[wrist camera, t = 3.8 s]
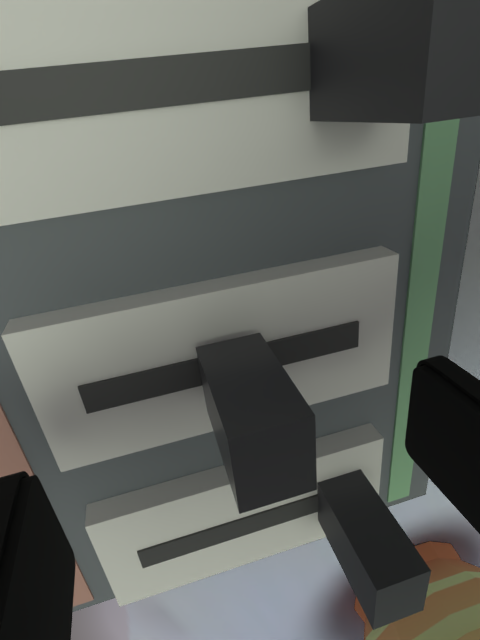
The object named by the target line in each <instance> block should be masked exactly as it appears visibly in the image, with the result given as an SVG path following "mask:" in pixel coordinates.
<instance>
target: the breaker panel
mask: <svg viewBox="0 0 480 640" xmlns="http://www.w3.org/2000/svg"><path fill="white" fill-rule="evenodd" d="M479 163H480V0H0V477H3V476H7V475H11V474H14V473H18V472H21V471H25V472H27V473H28V475H29V476H33V475H37V476H38V478H39V480H40V482H41V484H42V486H43V488H44V490H45V492H46V495H47V497H48V499H49V501H50V503H51V505H52V507H53V509H54V511H55V514H56V516H57V518H58V520H59V522H60V524H61V526H62V528H63V530H64V533H65V535H66V537H67V539H68V541H69V543H70V545H71V547H72V550H73V552H74V556H75V582H74V596H73V611H72V612H74V611H77V610H80V609H83V608H86V607H89V606H92V605H95V604H98V603H101V602H104V601H107V600H110V599H113V598H116V599H117V602H118V604H119V606H124V605H127V604H130V603H133V602H136V601H138V600H141V599H144V598H147V597H150V596H153V595H156V594H159V593H162V592H165V591H168V590H171V589H174V588H177V587H180V586H183V585H186V584H189V583H192V582H195V581H198V580H201V579H204V578H207V577H210V576H212V575H215V574H218V573H221V572H224V571H227V570H230V569H233V568H236V567H239V566H242V565H245V564H248V563H251V562H254V561H257V560H260V559H263V558H266V557H269V556H272V555H275V554H278V553H281V552H283V551H286V550H289V549H292V548H295V547H298V546H301V545H304V544H307V543H310V542H313V541H316V540H319V539H322V538H325V537H327V539H328V541H329V543H330V545H331V547H332V549H333V551H334V553H335V555H336V557H337V559H338V561H339V563H340V565H341V567H342V569H343V571H344V573H345V575H346V577H347V579H348V581H349V583H350V585H351V587H352V589H353V591H354V593H355V595H356V597H357V599H358V601H359V603H360V605H361V607H362V609H363V611H364V613H365V615H366V617H367V619H368V621H369V623H370V625H371V627H372V629H373V630H375V629H377V628H380V627H382V626H385V625H387V624H390V623H393V622H395V621H398V620H400V619H403V618H405V617H408V616H410V615H413V614H415V613H418V612H420V611H423V610H424V605H425V600H426V595H427V590H428V585H429V580H430V575H431V570H430V568H429V567H428V565H427V564H426V562H425V561H424V560H423V558H422V557H421V555H420V554H419V552H418V551H417V549H416V548H415V547H414V545H413V544H412V542H411V541H410V539H409V538H408V537H407V535H406V534H405V532H404V531H403V529H402V528H401V526H400V525H399V524H398V522H397V521H396V519H395V518H394V516H393V515H392V514H391V512H390V511H389V509H388V508H387V507H389V506H392V505H395V504H398V503H401V502H404V501H407V500H410V499H413V498H416V497H419V496H422V495H425V494H426V488H427V482H428V476H427V475H426V474H425V473H424V472H423V471H422V470H421V468H420V467H419V466H418V465H417V464H416V463H415V462H414V461H413V460H412V459H411V457H410V456H409V455H408V453H407V451H406V448H405V437H406V428H407V419H408V410H409V401H410V392H411V383H412V374H413V370H414V368H416V367H417V364H418V362H419V361H421V360H424V359H428V358H431V357H435V356H438V355H442V356H445V357H447V358H448V353H449V347H450V341H451V335H452V329H453V323H454V316H455V310H456V304H457V298H458V292H459V286H460V280H461V273H462V267H463V261H464V255H465V249H466V243H467V237H468V230H469V224H470V218H471V212H472V206H473V200H474V194H475V187H476V181H477V175H478V169H479ZM255 333H261V335H262V336H263V338H264V339H265V341H266V342H267V344H268V345H269V347H270V348H271V350H272V351H273V353H274V354H275V356H276V357H277V359H278V360H279V362H280V363H281V365H282V366H283V368H284V369H285V371H286V372H287V374H288V375H289V377H290V378H291V380H292V381H293V383H294V384H295V386H296V387H297V389H298V390H299V392H300V393H301V395H302V396H303V398H304V399H305V401H306V402H307V404H308V405H309V407H310V408H311V410H312V411H313V413H314V414H315V422H316V471H317V490H315V491H312V492H308V493H305V494H302V495H299V496H296V497H292V498H289V499H286V500H283V501H280V502H276V503H273V504H270V505H267V506H264V507H261V508H257V509H254V510H251V511H248V512H245V513H241V514H239V511H238V508H237V505H236V502H235V498H234V495H233V492H232V489H231V486H230V482H229V479H228V476H227V473H226V470H225V466H224V463H223V460H222V457H221V454H220V450H219V447H218V444H217V441H216V437H215V434H214V431H213V428H212V425H211V421H210V418H209V415H208V412H207V407H206V402H205V396H204V391H203V385H202V380H201V374H200V369H199V363H198V358H197V352H196V347H198V346H203V345H207V344H212V343H216V342H220V341H225V340H229V339H233V338H238V337H242V336H247V335H251V334H255Z"/></svg>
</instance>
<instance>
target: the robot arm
mask: <svg viewBox="0 0 480 640" xmlns="http://www.w3.org/2000/svg"><path fill="white" fill-rule="evenodd" d="M405 448H406V451H407V453H408V455H409V456H410V457H411V459H412V460H413V461H414V462H415V463H416V464H417V465H418V466H419V467H420V468H421V470H422V471H423V472H424V473H425V474H426V475H427V476H428V477H429V478H430V480H431V481H432V482H433V483H434V484H435V485H436V486H437V487H438V488H439V489H440V491H441V492H442V493H443V494H444V495H445V496H446V497H447V498H448V499H449V501H450V502H451V503H452V504H453V505H454V506H455V507H456V508H457V509H458V510H459V512H460V513H461V514H462V515H463V516H464V517H465V518H466V519H467V520H468V522H469V523H470V524H471V525H472V526H473V527H474V528H475V529H476V530H477V531H478V533H479V534H480V380H478V379H477V378H475V377H474V376H472V375H471V374H470V373H468V372H467V371H465V370H464V369H462V368H461V367H459V366H458V365H457V364H455V363H454V362H452V361H451V360H449V359H448V358H447V357H445V356H442V355H438V356H435V357H431V358H428V359H424V360H421V361H419V362H418V364H417V367H416V368H414V370H413V374H412V383H411V392H410V401H409V410H408V419H407V428H406V437H405ZM74 582H75V556H74V552H73V550H72V547H71V545H70V543H69V541H68V539H67V537H66V535H65V533H64V530H63V528H62V526H61V524H60V522H59V520H58V518H57V516H56V514H55V511H54V509H53V507H52V505H51V503H50V501H49V499H48V497H47V495H46V492H45V490H44V488H43V486H42V484H41V482H40V480H39V478H38V476H37V475H33V476H29V475H28V473H27V472H25V471H21V472H18V473H14V474H11V475H7V476H3V477H0V640H70V639H71V623H72V611H73V596H74Z"/></svg>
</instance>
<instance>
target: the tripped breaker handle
mask: <svg viewBox="0 0 480 640" xmlns="http://www.w3.org/2000/svg"><path fill="white" fill-rule="evenodd" d="M196 352H197V358H198V363H199V369H200V374H201V380H202V385H203V391H204V396H205V402H206V407H207V412H208V415H209V418H210V421H211V425H212V428H213V431H214V434H215V437H216V441H217V444H218V447H219V450H220V454H221V457H222V460H223V463H224V466H225V470H226V473H227V476H228V479H229V482H230V486H231V489H232V492H233V495H234V498H235V502H236V505H237V508H238V511H239V514H241V513H245V512H248V511H251V510H254V509H257V508H261V507H264V506H267V505H270V504H273V503H276V502H280V501H283V500H286V499H289V498H292V497H296V496H299V495H302V494H305V493H308V492H312V491H315V490H317V471H316V422H315V414H314V413H313V411H312V410H311V408H310V407H309V405H308V404H307V402H306V401H305V399H304V398H303V396H302V395H301V393H300V392H299V390H298V389H297V387H296V386H295V384H294V383H293V381H292V380H291V378H290V377H289V375H288V374H287V372H286V371H285V369H284V368H283V366H282V365H281V363H280V362H279V360H278V359H277V357H276V356H275V354H274V353H273V351H272V350H271V348H270V347H269V345H268V344H267V342H266V341H265V339H264V338H263V336H262V335H261V333H255V334H251V335H247V336H242V337H238V338H233V339H229V340H225V341H220V342H216V343H212V344H207V345H203V346H198V347H196Z"/></svg>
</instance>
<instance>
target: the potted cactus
mask: <svg viewBox="0 0 480 640" xmlns="http://www.w3.org/2000/svg"><path fill="white" fill-rule="evenodd" d="M414 547H415V548H416V549H417V551H418V552H419V554H420V555H421V557H422V558H423V560H424V561H425V562H426V564H427V565H428V567H429V568H430V570H431V575H430V580H429V585H428V590H427V595H426V600H425V605H424V610H423V611H420V612H418V613H415V614H413V615H410V616H408V617H405V618H403V619H400V620H398V621H395V622H393V623H390V624H387V625H385V626H382V627H380V628H377V629H375V630H373V629H372V627H371V625H370V623H369V621H368V619H367V617H366V615H365V613H364V611H363V609H362V607H361V605H360V603H359V601H358V599H357V597H356V599H355V607H354V609H355V611H356V612H357V613H358V615H359V616H360V617H361V619H362V620H363V621H364V623H365V628H364V640H480V568H479V567H476V566H474V565H471V564H469V563H467V562H464V561H462V560H461V559H460V557H459V555H458V554H457V552H456V551H455V549H454V548H453V546H452V545H451V544H450V543H441V542H432V541H429V542H426V543H422V544H419V545H416V546H414Z"/></svg>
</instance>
